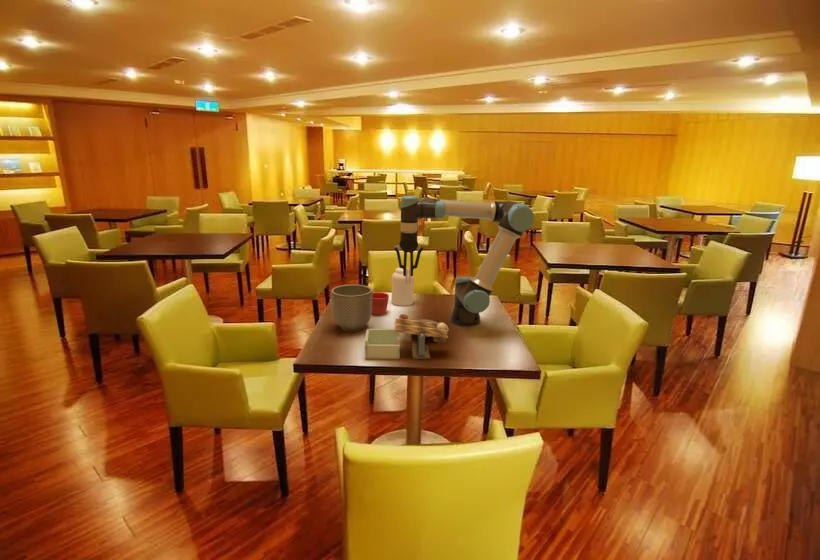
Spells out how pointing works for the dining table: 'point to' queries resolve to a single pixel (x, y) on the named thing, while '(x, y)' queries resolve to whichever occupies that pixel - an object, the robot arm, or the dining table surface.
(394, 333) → the cream open box
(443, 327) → the ball
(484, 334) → the dining table surface
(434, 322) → the dish
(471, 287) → the robot arm
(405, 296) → the white bottle
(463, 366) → the dining table surface
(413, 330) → the lever
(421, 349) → the stand
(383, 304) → the flower pot
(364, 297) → the planter
